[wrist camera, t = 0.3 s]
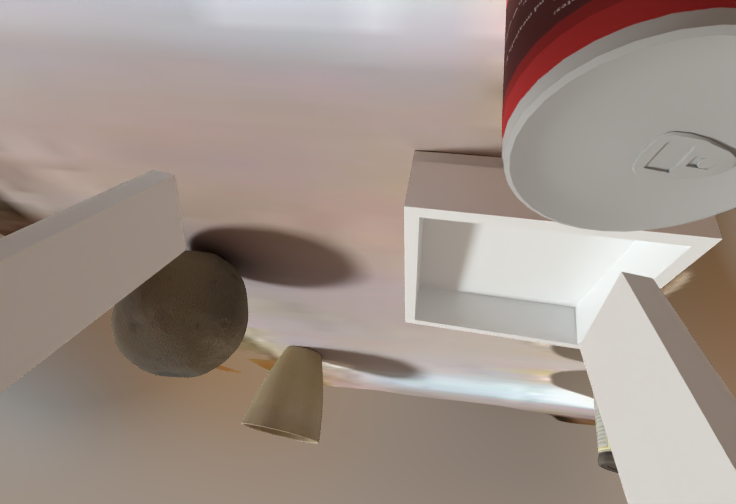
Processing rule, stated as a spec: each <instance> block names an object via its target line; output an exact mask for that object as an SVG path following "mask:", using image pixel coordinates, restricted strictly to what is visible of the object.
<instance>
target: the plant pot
mask: <svg viewBox="0 0 736 504" xmlns="http://www.w3.org/2000/svg"><path fill="white" fill-rule="evenodd" d="M322 406H323V372H322V360H321V355H320V354H319V353H317V352H315V351H313V350H311V349H308V348H304V347H299V346H289V347H287V348H286V350H285V351H284V352H283V354H282V355H281V356H280V357H279V359H278V360H277V362H276V363H275V364H274V366H273V367H272V369H271V370H270V372H269V373H268V375H267V376H266V378H265V380H264V381H263V383H262V385H261V386H260V388H259V390H258V391H257V393H256V395H255V397H254V399H253V401H252V403H251V405H250V407H249V409H248V410H247V412H246V415H245V416H244V419H243V421H242V423H241V424H242V425H244V426H246V427H249V428H252V429H255V430H258V431H261V432H265V433H268V434H272V435H276V436H280V437H284V438H289V439H293V440H298V441H303V442H308V443H319V438H320V430H321V420H322Z"/></svg>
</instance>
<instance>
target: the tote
mask: <svg viewBox="0 0 736 504" xmlns="http://www.w3.org/2000/svg"><path fill="white" fill-rule="evenodd" d="M722 239H723V238H722V235H721V232H720V229H719V225H718V222H717V219H716V216H712V217H709V218H706V219H702V220H698V221H694V222H690V223H686V224H682V225H678V226H672V227H666V228H660V229H654V230H642V231H628V232H620V231H597V230H589V229H580V228H576V227H572V226H568V225H564V224H560V223H557V222H555V221H552V220H550V219H547V218H545V217H542V216H541V215H539V214H537V213H536V212H534V211H532V210H531V209H529V208H528V207H527V206H526V205H524V204H523V203H522V202H521V201H520V200H519V199H518V198H517V197H516V196H515V194H514V193H513V191H512V190H511V188H510V186H509V185H508V182H507V179H506V175H505V172H504V163H503V159H502V157H489V156H476V155H463V154H450V153H437V152H424V151H414V157H413V162H412V167H411V172H410V178H409V183H408V188H407V194H406V199H405V204H404V244H405V322H408V323H415V324H421V325H428V326H434V327H441V328H447V329H454V330H460V331H467V332H473V333H480V334H486V335H493V336H499V337H506V338H512V339H519V340H525V341H532V342H538V343H545V344H551V345H558V346H564V347H570V348H577V349H580V347H579V346H580V344H581V343H582V341H583V339H584V337H585V336H586V334H587V332H588V330H589V328H590V327H591V325H592V323H593V321H594V320H595V318H596V316H597V314H598V312H599V311H600V309H601V307H602V305H603V304H604V302H605V300H606V298H607V297H608V295H609V293H610V291H611V289H612V288H613V286H614V284H615V282H616V281H617V279H618V277H619V275H620V273H621V272H626V273H631V274H635V275H640V276H644V277H649V278H653V279H654V281H655V282H656V284H657V285H658V287H659V288H660V289H661V288H662V287H663V286H665V285H666V284H667V283H668V282H670V281H671V280H672V279H673V278H675V277H676V276H677V275H678V274H680V273H681V272H682V271H683V270H685V269H686V268H687V267H688V266H690V265H691V264H692V263H693V262H694V261H696V260H697V259H698V258H700V257H701V256H702V255H703V254H705V253H706V252H707V251H708V250H709V249H711V248H712V247H713V246H715V245H716V244H717V243H718V242H719V241H721V240H722Z"/></svg>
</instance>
